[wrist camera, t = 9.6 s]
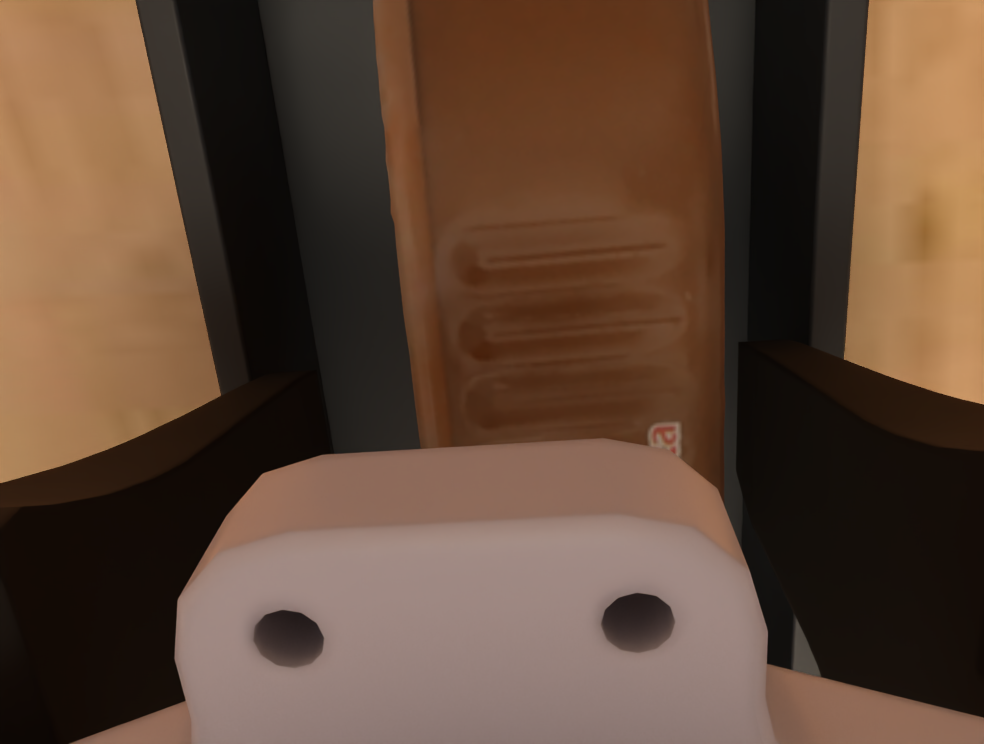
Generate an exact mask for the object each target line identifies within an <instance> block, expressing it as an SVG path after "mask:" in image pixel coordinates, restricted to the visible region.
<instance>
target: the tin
mask: <svg viewBox="0 0 984 744" xmlns="http://www.w3.org/2000/svg"><path fill="white" fill-rule="evenodd" d="M373 18H374V28H375V45H376V60H377V68H378V78H379V92H380V102H381V114H382V119H383V124H384V130H385V144H386V166H387V171H388V179H389V189H390V199H391V215H392V218H393V221H394V226H395V238H396V249H397V258H398V268H399V277H400V286H401V296H402V305H403V314H404V322H405V328H406V335H407V342H408V348H409V355H410V364H411V373H412V382H413V391H414V400H415V408H416V416H417V424H418V431H419V439H420V447H421V449H429V448H446V447H463V446H479V445H496V444H513V443H530V442H547V441H564V440H581V439H597V438H606V439H611V440H617V441H623V442H628V443H634V444H639V445H645V446H651V447H656V448H662V449H668V450H671V451H672V452H673V453H674V454H675V455H677V456H678V457H679V458H680V459H682V460H683V461H684V462H685V463H686V464H688V465H689V466H690V467H691V468H693V469H694V470H695V471H696V472H697V473H699V474H700V475H701V476H702V477H704V478H705V479H706V480H707V481H708V482H710V483H711V484H712V485H713V486H715V487H716V488H717V489H718V491H719V494H720V496H721V499H722V502H723V504H724V420H725V385H724V356H725V223H724V199H723V174H722V150H721V135H720V122H719V109H718V96H717V83H716V74H715V64H714V54H713V44H712V35H711V25H710V15H709V6H708V0H373Z"/></svg>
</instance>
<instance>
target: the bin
mask: <svg viewBox="0 0 984 744" xmlns="http://www.w3.org/2000/svg"><path fill="white" fill-rule="evenodd" d="M135 1H136V5H137V10H138V14H139V19H140V24H141V28H142V33H143V37H144V42H145V47H146V51H147V56H148V60H149V65H150V70H151V74H152V79H153V83H154V88H155V93H156V97H157V102H158V106H159V111H160V116H161V120H162V125H163V129H164V134H165V139H166V143H167V148H168V152H169V157H170V162H171V166H172V171H173V175H174V180H175V185H176V189H177V194H178V198H179V203H180V208H181V212H182V217H183V221H184V226H185V231H186V235H187V240H188V244H189V249H190V254H191V258H192V263H193V268H194V272H195V277H196V281H197V286H198V291H199V295H200V300H201V304H202V309H203V314H204V318H205V323H206V327H207V332H208V337H209V341H210V346H211V350H212V355H213V360H214V364H215V369H216V373H217V378H218V383H219V387H220V392H221V396H222V395H224V394H226V393H228V392H230V391H232V390H234V389H236V388H237V387H240V386H242V385H244V384H246V383H248V382H250V381H252V380H254V379H257V378H259V377H262V376H264V375H267V374H271V373H275V372H290V371H305V370H317V375H318V380H319V386H320V392H321V398H322V404H323V410H324V416H325V422H326V427H327V433H328V439H329V445H330V451H331V454H344V453H361V452H378V451H395V450H412V449H421V447H420V439H419V431H418V424H417V416H416V408H415V400H414V391H413V382H412V373H411V364H410V355H409V348H408V342H407V335H406V328H405V322H404V314H403V305H402V296H401V286H400V277H399V268H398V258H397V249H396V238H395V226H394V221H393V218H392V215H391V199H390V189H389V179H388V171H387V166H386V144H385V130H384V124H383V119H382V114H381V102H380V92H379V78H378V68H377V60H376V45H375V28H374V18H373V0H135ZM868 5H869V0H708V6H709V15H710V25H711V35H712V44H713V54H714V64H715V74H716V83H717V96H718V109H719V122H720V135H721V150H722V174H723V199H724V223H725V356H724V385H725V420H724V507H725V509H726V512H727V514H728V517H729V519H730V522H731V525H732V527H733V530H734V532H735V535H736V537H737V540H738V542H739V545H740V548H741V550H742V553H743V555H744V558H745V560H746V563H747V565H748V568H749V571H750V574H751V577H752V580H753V584H754V587H755V590H756V594H757V597H758V600H759V604H760V607H761V610H762V614H763V617H764V620H765V624H766V627H767V630H768V644H767V664H769V665H773V666H777V667H781V668H785V669H789V670H793V671H797V672H802V673H806V674H810V675H814V676H818V677H821V674H820V671H819V668H818V666H817V663H816V661H815V659H814V656H813V654H812V651H811V649H810V647H809V644H808V642H807V639H806V637H805V635H804V633H803V631H802V629H801V627H800V625H799V623H798V621H797V619H796V617H795V615H794V613H793V611H792V608H791V606H790V604H789V602H788V600H787V598H786V596H785V594H784V592H783V590H782V588H781V586H780V584H779V582H778V579H777V577H776V575H775V573H774V571H773V569H772V567H771V565H770V563H769V561H768V559H767V557H766V554H765V552H764V550H763V548H762V546H761V544H760V542H759V540H758V537H757V535H756V533H755V531H754V529H753V526H752V524H751V521H750V518H749V515H748V512H747V508H746V505H745V502H744V498H743V495H742V491H741V488H740V484H739V480H738V477H737V473H736V437H737V389H738V342H748V341H763V340H778V339H785V340H791V341H795V342H799V343H802V344H805V345H808V346H811V347H814V348H816V349H819V350H821V351H824V352H827V353H829V354H832V355H834V356H837V357H839V358H842V359H844V351H845V337H846V322H847V308H848V293H849V279H850V265H851V250H852V236H853V221H854V207H855V193H856V178H857V164H858V149H859V135H860V121H861V106H862V92H863V77H864V63H865V49H866V34H867V20H868Z"/></svg>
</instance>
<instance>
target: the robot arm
mask: <svg viewBox="0 0 984 744" xmlns="http://www.w3.org/2000/svg"><path fill="white" fill-rule="evenodd" d="M736 473H737V477H738V480H739V484H740V488H741V491H742V495H743V498H744V502H745V505H746V508H747V512H748V515H749V518H750V521H751V524H752V526H753V529H754V531H755V533H756V535H757V537H758V540H759V542H760V544H761V546H762V548H763V550H764V552H765V554H766V557H767V559H768V561H769V563H770V565H771V567H772V569H773V571H774V573H775V575H776V577H777V579H778V582H779V584H780V586H781V588H782V590H783V592H784V594H785V596H786V598H787V600H788V602H789V604H790V606H791V608H792V611H793V613H794V615H795V617H796V619H797V621H798V623H799V625H800V627H801V629H802V631H803V633H804V635H805V637H806V639H807V642H808V644H809V647H810V649H811V651H812V654H813V656H814V659H815V661H816V663H817V666H818V668H819V671H820V674H821V677H818V676H814V675H810V674H806V673H802V672H797V671H793V670H789V669H785V668H781V667H777V666H773V665H769V664H767V644H768V630H767V627H766V624H765V620H764V617H763V614H762V610H761V607H760V604H759V600H758V597H757V594H756V590H755V587H754V584H753V580H752V577H751V574H750V571H749V568H748V565H747V563H746V560H745V558H744V555H743V553H742V550H741V548H740V545H739V542H738V540H737V537H736V535H735V532H734V530H733V527H732V525H731V522H730V519H729V517H728V514H727V512H726V509H725V507H724V504H723V502H722V499H721V496H720V494H719V491H718V489H717V488H716V487H715V486H713V485H712V484H711V483H710V482H708V481H707V480H706V479H705V478H704V477H702V476H701V475H700V474H699V473H697V472H696V471H695V470H694V469H693V468H691V467H690V466H689V465H688V464H686V463H685V462H684V461H683V460H682V459H680V458H679V457H678V456H677V455H675V454H674V453H673V452H672V451H671V450H668V449H662V448H656V447H651V446H645V445H639V444H634V443H628V442H623V441H617V440H611V439H606V438H597V439H581V440H564V441H547V442H530V443H513V444H496V445H479V446H463V447H446V448H429V449H412V450H395V451H378V452H361V453H344V454H331V451H330V445H329V439H328V433H327V427H326V422H325V416H324V410H323V404H322V398H321V392H320V386H319V380H318V375H317V370H305V371H290V372H275V373H271V374H267V375H264V376H262V377H259V378H257V379H254V380H252V381H250V382H248V383H246V384H244V385H242V386H240V387H237V388H236V389H234V390H232V391H230V392H228V393H226V394H224V395H222V396H220V397H218V398H216V399H214V400H212V401H210V402H208V403H206V404H205V405H203V406H201V407H199V408H197V409H195V410H193V411H191V412H189V413H187V414H185V415H183V416H181V417H179V418H177V419H175V420H172V421H170V422H168V423H166V424H164V425H162V426H160V427H158V428H156V429H154V430H151V431H149V432H147V433H145V434H143V435H141V436H139V437H137V438H134V439H132V440H130V441H127V442H125V443H123V444H120V445H118V446H115V447H113V448H110V449H108V450H105V451H103V452H100V453H97V454H94V455H92V456H89V457H86V458H83V459H81V460H78V461H75V462H72V463H69V464H66V465H63V466H60V467H57V468H54V469H50V470H46V471H43V472H39V473H36V474H32V475H29V476H25V477H22V478H18V479H15V480H11V481H8V482H4V483H1V484H0V744H984V405H983V404H979V403H975V402H970V401H966V400H962V399H958V398H954V397H951V396H947V395H943V394H940V393H937V392H933V391H930V390H927V389H924V388H921V387H918V386H915V385H912V384H909V383H906V382H903V381H900V380H897V379H894V378H891V377H889V376H886V375H883V374H880V373H878V372H875V371H872V370H870V369H867V368H865V367H862V366H859V365H857V364H854V363H852V362H849V361H847V360H844V359H842V358H839V357H837V356H834V355H832V354H829V353H827V352H824V351H821V350H819V349H816V348H814V347H811V346H808V345H805V344H802V343H799V342H795V341H791V340H785V339H778V340H763V341H748V342H738V389H737V437H736Z"/></svg>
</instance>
